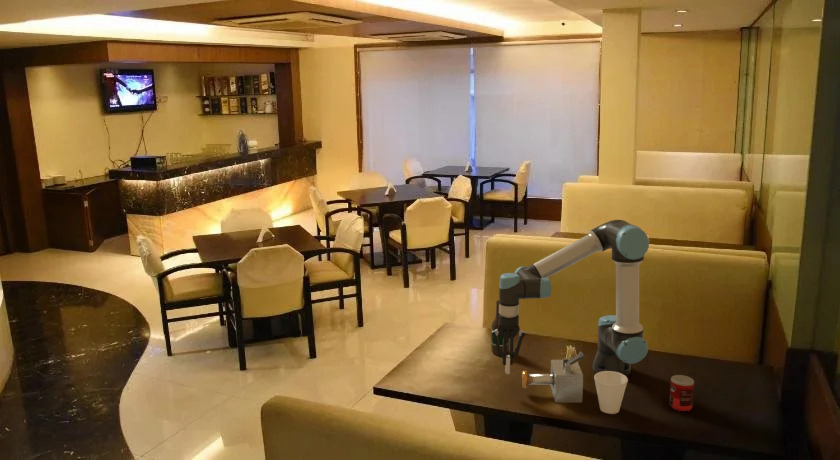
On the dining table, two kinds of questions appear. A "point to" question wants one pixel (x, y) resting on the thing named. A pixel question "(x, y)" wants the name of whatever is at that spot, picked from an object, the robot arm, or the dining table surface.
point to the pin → (536, 379)
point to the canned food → (681, 392)
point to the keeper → (575, 358)
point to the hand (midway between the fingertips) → (507, 372)
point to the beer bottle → (500, 338)
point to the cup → (610, 390)
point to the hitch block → (567, 381)
